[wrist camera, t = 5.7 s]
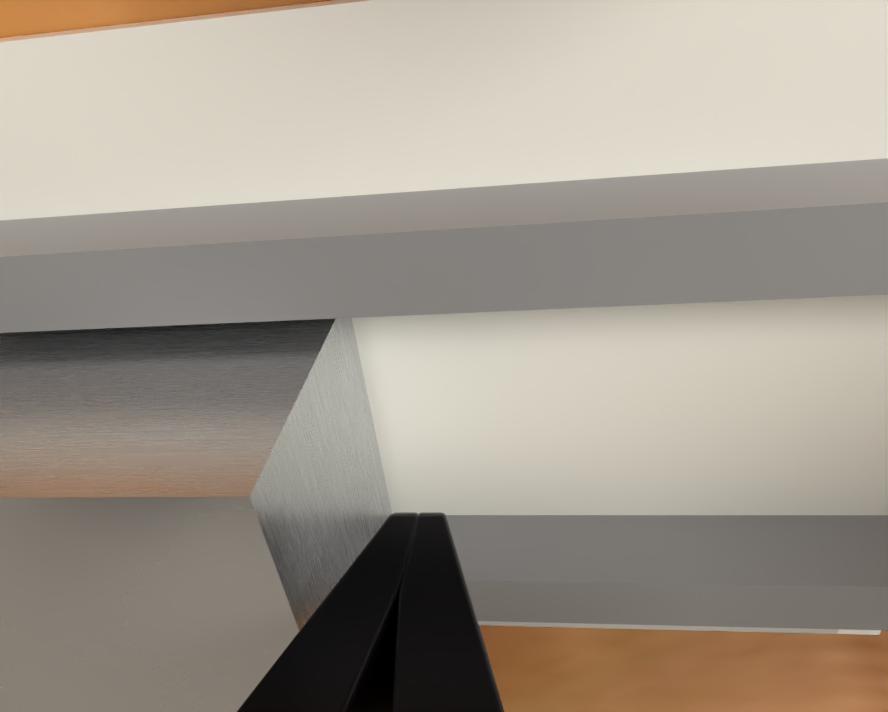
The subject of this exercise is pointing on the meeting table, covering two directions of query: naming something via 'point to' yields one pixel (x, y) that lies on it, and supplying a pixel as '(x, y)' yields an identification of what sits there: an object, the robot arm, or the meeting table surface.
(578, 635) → the meeting table surface
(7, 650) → the brushed metal block
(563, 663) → the meeting table surface
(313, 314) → the gauge bed
